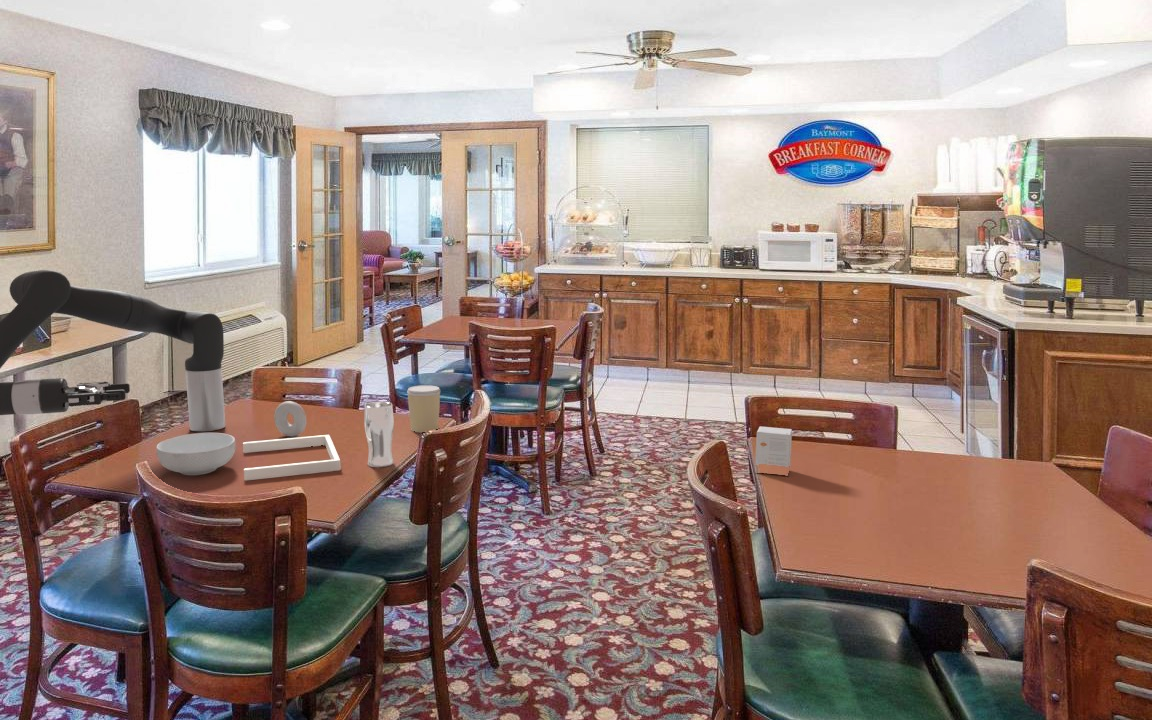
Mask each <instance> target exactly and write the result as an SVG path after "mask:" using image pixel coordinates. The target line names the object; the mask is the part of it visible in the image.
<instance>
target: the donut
mask: <svg viewBox="0 0 1152 720" xmlns="http://www.w3.org/2000/svg"><path fill="white" fill-rule="evenodd" d="M274 411H275V412H274V414H273V415H274V419H273V420H274V424H275V426H276V428H277V430H278V431H279V432H280V433H281V434H282V435H283V436H286V437H288V438H296V437H298V436H299V435H301V434H302V433H303V432H304V431H305V428H306V427H307V415H306V413H305V410H304V409H303V407H302V406H301V405H300V404H299V403H297V402H295V401H291V400H288V401H287V400H286V401H283V402H281V403H280V404H279V405H278V406H277V407H276V409H275V410H274ZM289 414H290V415H291V417H292V418H293V423H292V424H291V423H290V422H289V421H288V415H289Z"/></svg>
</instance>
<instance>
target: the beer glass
mask: <svg viewBox="0 0 1152 720" xmlns="http://www.w3.org/2000/svg"><path fill="white" fill-rule="evenodd" d="M393 408H394V406H393V403H392V402H389V401H373V402H368V403H365V404H364V417H363V418H364V419H363V420H364V430H365V431H364V432H365V436H366V440H367V441H366V442H367V445H368V458H367V466H368V467H371V468H379V469H380V468H385V467H390V466H393V464H394V458H393V455H392V442H393V435H394V428H395V427H394V426H395V420H394V419H395V418H394V409H393Z"/></svg>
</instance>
